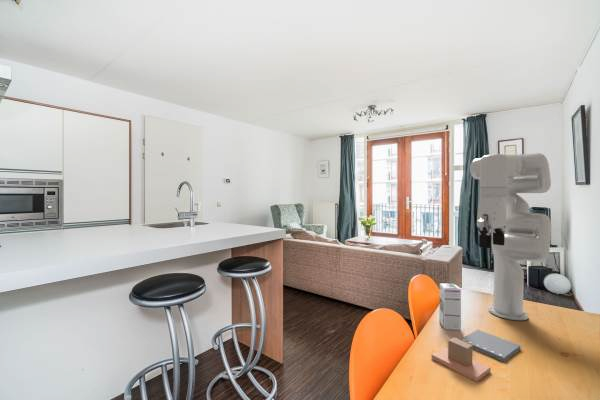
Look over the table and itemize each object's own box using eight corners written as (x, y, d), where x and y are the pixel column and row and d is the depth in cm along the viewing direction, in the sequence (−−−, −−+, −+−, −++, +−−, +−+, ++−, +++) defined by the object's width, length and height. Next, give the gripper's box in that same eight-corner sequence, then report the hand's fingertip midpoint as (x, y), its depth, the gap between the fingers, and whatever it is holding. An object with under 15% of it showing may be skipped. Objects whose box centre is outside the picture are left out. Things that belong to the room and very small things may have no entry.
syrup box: (461, 330, 98) (462, 288, 97) (442, 329, 99) (443, 287, 99) (455, 323, 103) (456, 283, 103) (438, 321, 104) (439, 282, 104)
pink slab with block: (445, 350, 85) (445, 330, 85) (490, 371, 75) (490, 348, 75) (431, 358, 81) (431, 337, 80) (477, 381, 71) (477, 357, 71)
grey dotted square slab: (477, 333, 96) (477, 329, 96) (520, 349, 86) (520, 345, 86) (459, 343, 89) (459, 339, 89) (503, 361, 79) (503, 357, 79)
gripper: (492, 193, 99) (490, 242, 100) (467, 192, 90) (466, 246, 90) (517, 193, 93) (516, 245, 93) (494, 192, 83) (493, 250, 84)
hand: (491, 246), depth 92 cm, fingers open, 9 cm apart
